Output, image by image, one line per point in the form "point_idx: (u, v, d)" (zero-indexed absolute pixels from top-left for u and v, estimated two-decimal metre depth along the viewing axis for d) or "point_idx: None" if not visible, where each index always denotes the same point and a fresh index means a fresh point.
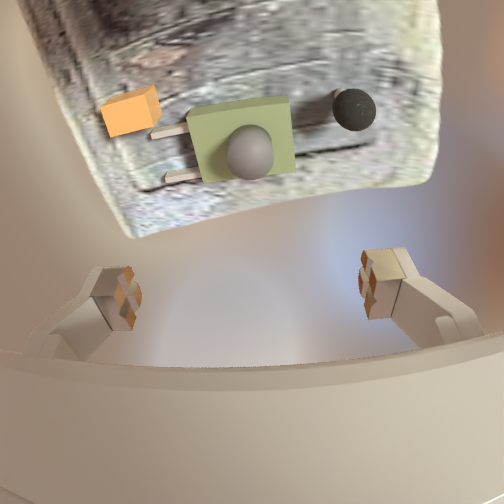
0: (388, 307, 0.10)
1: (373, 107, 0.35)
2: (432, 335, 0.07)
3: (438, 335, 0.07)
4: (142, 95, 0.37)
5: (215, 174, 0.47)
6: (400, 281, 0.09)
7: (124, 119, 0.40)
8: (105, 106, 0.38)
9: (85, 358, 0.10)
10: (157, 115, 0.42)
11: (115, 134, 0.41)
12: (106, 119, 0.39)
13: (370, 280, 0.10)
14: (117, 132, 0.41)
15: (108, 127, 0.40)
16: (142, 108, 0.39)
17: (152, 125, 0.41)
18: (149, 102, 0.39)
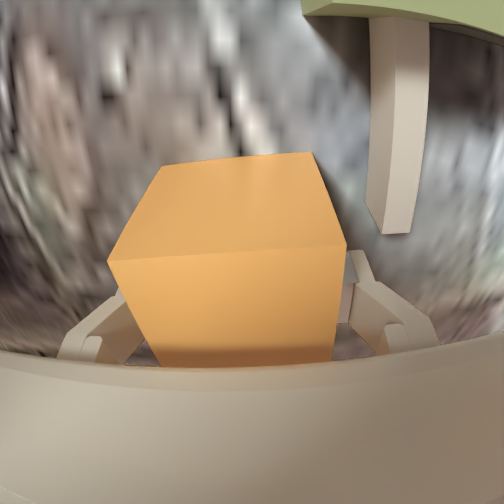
0: (344, 312, 0.10)
1: None
2: (381, 343, 0.07)
3: (386, 344, 0.07)
4: (117, 270, 0.07)
5: None
6: (353, 286, 0.09)
7: (258, 362, 0.09)
8: None
9: (122, 361, 0.10)
10: (297, 188, 0.08)
11: None
12: None
13: None
14: None
15: None
16: (203, 286, 0.07)
17: (336, 252, 0.06)
18: (188, 224, 0.07)
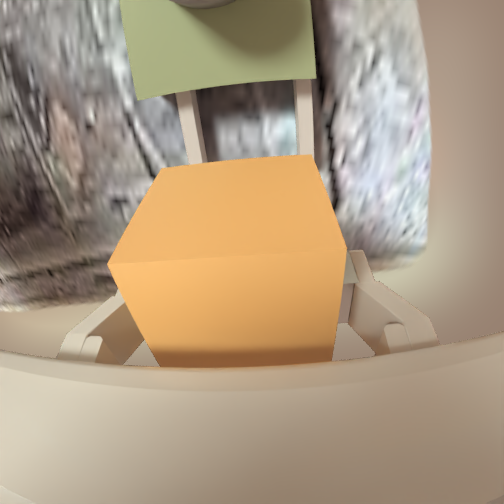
0: (343, 312, 0.10)
1: None
2: (381, 343, 0.07)
3: (386, 344, 0.07)
4: (118, 274, 0.07)
5: (291, 45, 0.16)
6: (353, 286, 0.09)
7: (258, 365, 0.09)
8: None
9: (122, 361, 0.10)
10: (298, 191, 0.08)
11: None
12: None
13: None
14: None
15: None
16: (203, 290, 0.07)
17: (336, 256, 0.06)
18: (189, 227, 0.07)
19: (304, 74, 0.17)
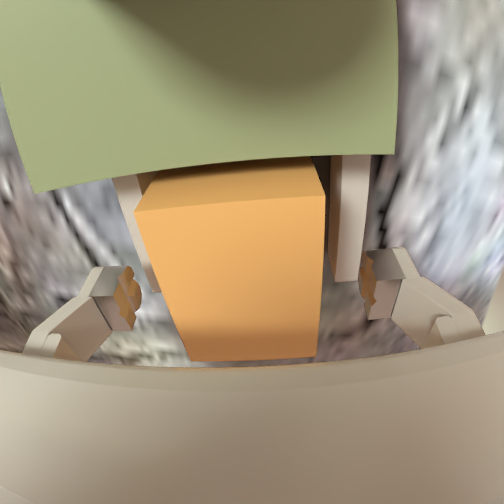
0: (388, 307, 0.10)
1: None
2: (432, 335, 0.07)
3: (438, 335, 0.07)
4: (141, 220, 0.08)
5: (347, 75, 0.07)
6: (400, 281, 0.09)
7: (256, 309, 0.10)
8: (189, 348, 0.12)
9: (85, 358, 0.10)
10: (288, 159, 0.10)
11: (309, 342, 0.12)
12: (241, 355, 0.12)
13: (370, 280, 0.10)
14: (304, 337, 0.11)
15: (274, 355, 0.12)
16: (211, 233, 0.09)
17: (317, 202, 0.08)
18: (200, 184, 0.09)
19: (371, 144, 0.08)
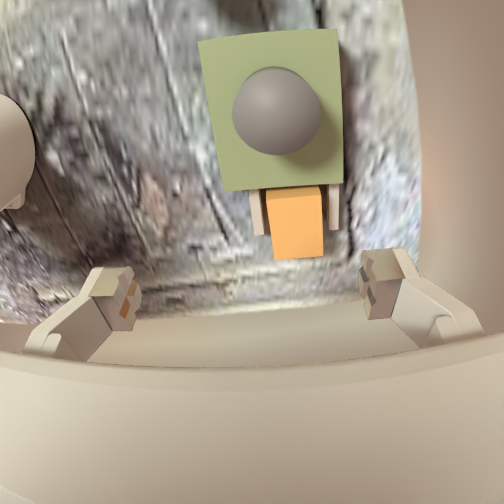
0: (388, 307, 0.10)
1: None
2: (432, 335, 0.07)
3: (438, 335, 0.07)
4: (268, 203, 0.29)
5: (328, 162, 0.27)
6: (400, 281, 0.09)
7: (301, 233, 0.31)
8: (275, 253, 0.33)
9: (85, 358, 0.10)
10: None
11: (320, 248, 0.32)
12: (294, 255, 0.33)
13: (370, 280, 0.10)
14: (318, 245, 0.32)
15: (307, 255, 0.33)
16: (289, 206, 0.29)
17: (319, 196, 0.29)
18: (284, 192, 0.30)
19: (335, 180, 0.28)
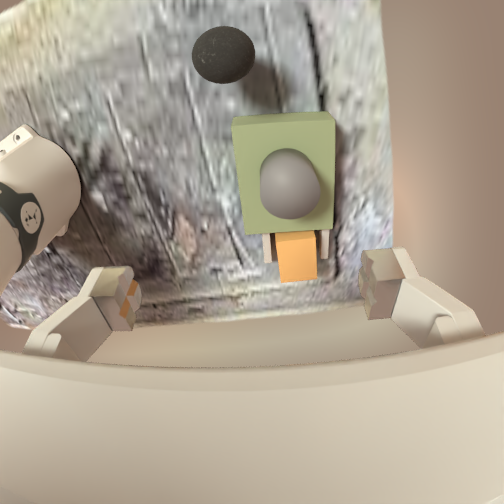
0: (388, 307, 0.10)
1: (208, 35, 0.22)
2: (432, 335, 0.07)
3: (438, 335, 0.07)
4: (277, 244, 0.41)
5: (322, 214, 0.39)
6: (400, 281, 0.09)
7: (301, 263, 0.43)
8: (281, 277, 0.44)
9: (85, 358, 0.10)
10: None
11: (314, 273, 0.44)
12: (296, 279, 0.44)
13: (370, 280, 0.10)
14: (313, 271, 0.43)
15: (305, 278, 0.44)
16: (292, 246, 0.41)
17: (314, 239, 0.40)
18: (288, 235, 0.41)
19: (327, 227, 0.40)
